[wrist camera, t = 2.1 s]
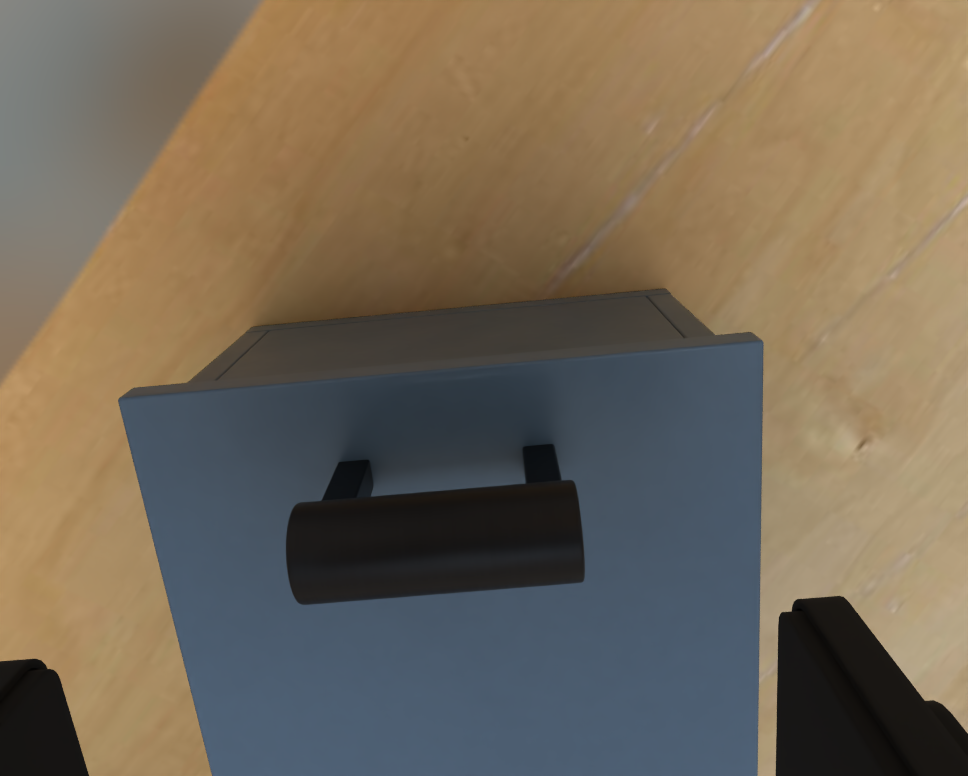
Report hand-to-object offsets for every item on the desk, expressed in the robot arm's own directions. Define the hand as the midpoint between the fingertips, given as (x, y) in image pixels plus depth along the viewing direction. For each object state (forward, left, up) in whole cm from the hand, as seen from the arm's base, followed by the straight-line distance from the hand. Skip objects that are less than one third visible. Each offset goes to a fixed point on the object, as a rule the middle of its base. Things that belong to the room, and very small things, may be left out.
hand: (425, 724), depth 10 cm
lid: (+5, 0, -8) cm, 10 cm away
